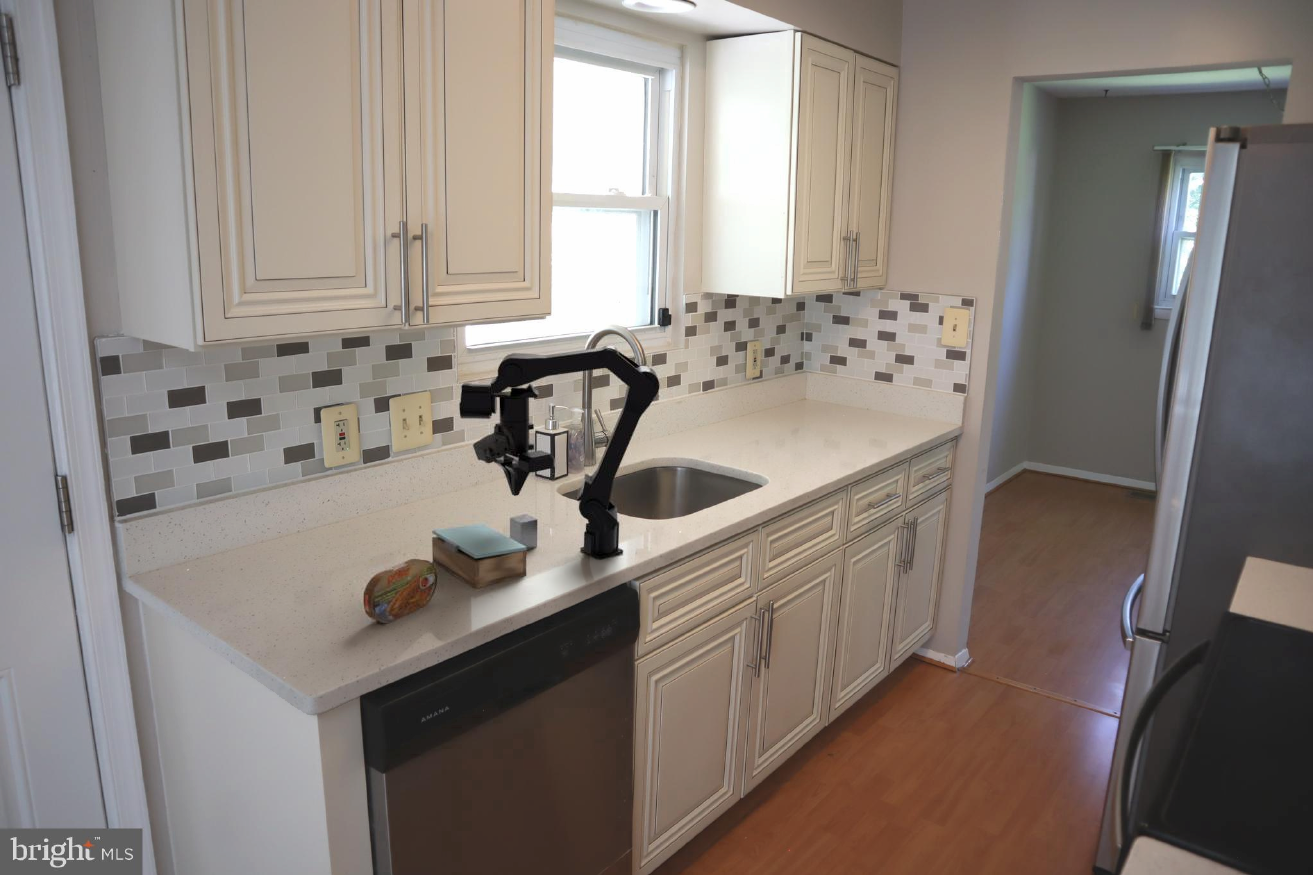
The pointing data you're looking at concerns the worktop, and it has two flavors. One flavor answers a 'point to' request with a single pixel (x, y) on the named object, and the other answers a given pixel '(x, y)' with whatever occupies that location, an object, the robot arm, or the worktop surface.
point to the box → (479, 565)
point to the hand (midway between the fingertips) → (515, 495)
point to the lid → (477, 541)
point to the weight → (524, 530)
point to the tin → (400, 590)
